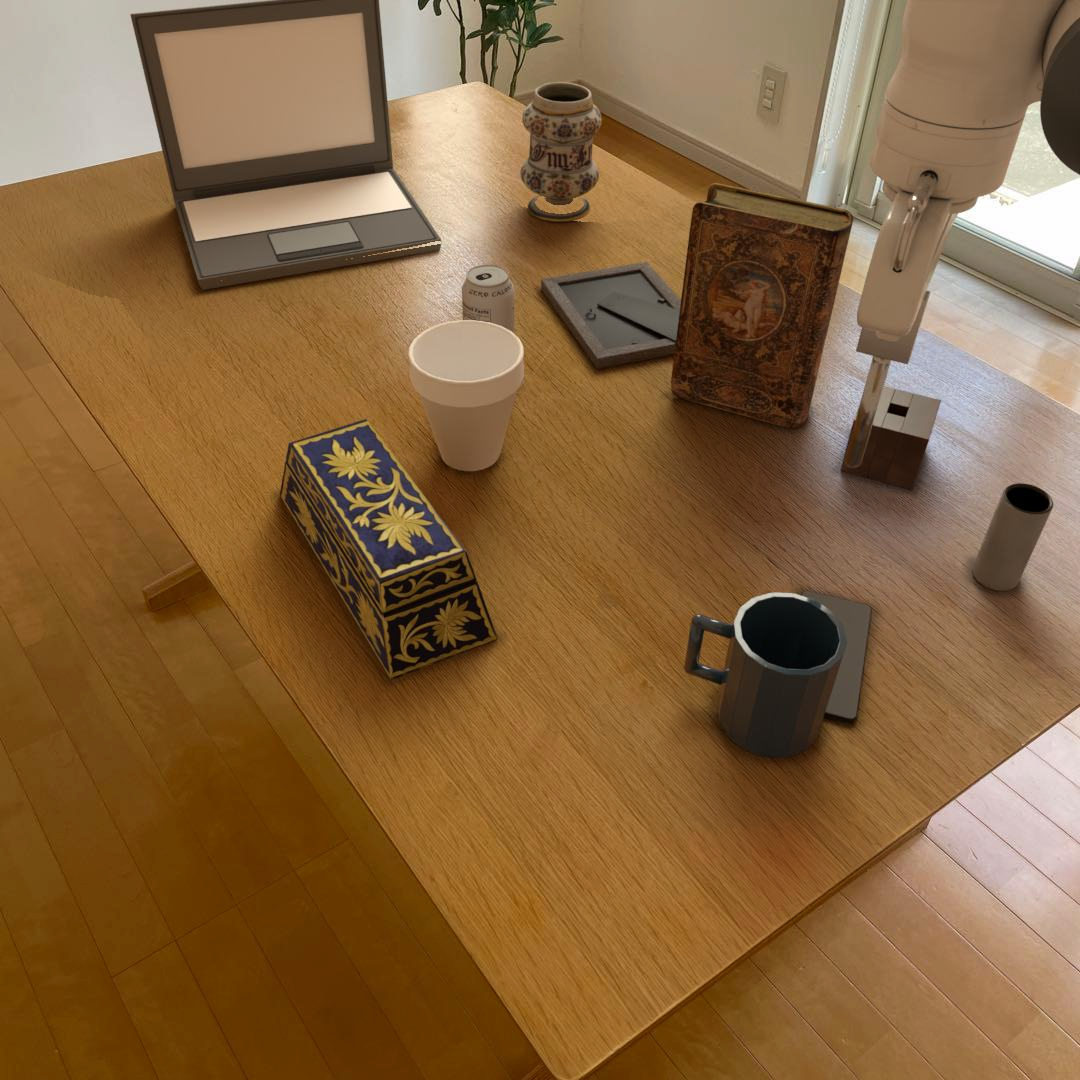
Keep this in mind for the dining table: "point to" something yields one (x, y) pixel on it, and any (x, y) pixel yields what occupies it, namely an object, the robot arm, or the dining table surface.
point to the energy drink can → (489, 296)
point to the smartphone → (847, 655)
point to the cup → (467, 388)
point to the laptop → (278, 137)
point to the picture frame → (617, 312)
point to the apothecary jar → (560, 147)
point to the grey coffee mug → (773, 671)
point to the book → (757, 302)
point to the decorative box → (384, 549)
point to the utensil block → (897, 438)
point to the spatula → (878, 380)
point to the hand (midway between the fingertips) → (891, 326)
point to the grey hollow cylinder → (1012, 536)
